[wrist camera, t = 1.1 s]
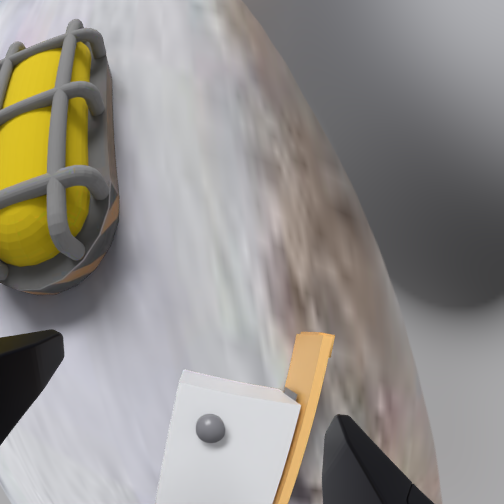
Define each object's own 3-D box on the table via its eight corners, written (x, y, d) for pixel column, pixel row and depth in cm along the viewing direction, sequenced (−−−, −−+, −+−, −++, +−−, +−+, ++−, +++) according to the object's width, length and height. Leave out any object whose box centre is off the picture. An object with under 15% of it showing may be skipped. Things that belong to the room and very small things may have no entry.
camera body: (248, 501, 21) (263, 542, 15) (159, 486, 20) (150, 526, 14) (280, 383, 24) (307, 400, 18) (185, 363, 24) (179, 376, 17)
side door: (269, 490, 22) (287, 524, 16) (256, 489, 21) (270, 524, 16) (310, 334, 26) (340, 335, 20) (296, 331, 25) (323, 332, 20)
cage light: (104, -1, 23) (105, 256, 17) (113, 45, 30) (132, 277, 25) (-5, 40, 20) (-54, 298, 14) (15, 79, 27) (-2, 308, 22)
